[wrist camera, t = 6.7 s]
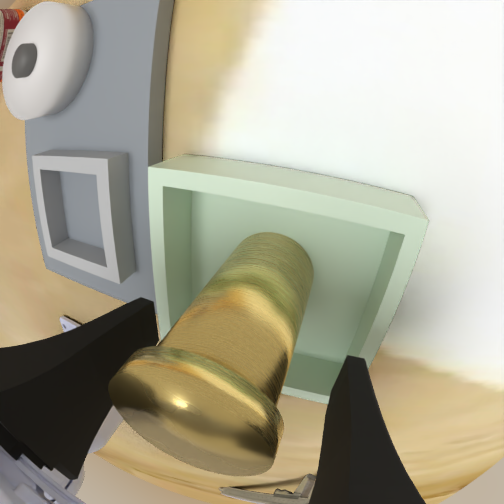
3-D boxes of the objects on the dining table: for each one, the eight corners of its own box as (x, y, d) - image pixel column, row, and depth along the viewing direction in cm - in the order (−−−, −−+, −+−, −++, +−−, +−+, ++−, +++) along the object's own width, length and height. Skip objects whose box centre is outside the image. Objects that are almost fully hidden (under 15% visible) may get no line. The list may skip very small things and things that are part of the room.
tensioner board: (167, 303, 18) (133, 341, 15) (56, 261, 21) (23, 284, 17) (177, -22, 10) (130, -46, 6) (44, 23, 12) (1, 23, 9)
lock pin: (311, 321, 15) (262, 488, 7) (222, 299, 16) (129, 436, 8) (331, 236, 13) (289, 421, 5) (226, 214, 14) (88, 345, 6)
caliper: (322, 468, 24) (309, 521, 18) (329, 471, 24) (317, 524, 18) (219, 486, 34) (203, 519, 29) (225, 489, 34) (210, 522, 29)
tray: (351, 367, 16) (346, 407, 14) (186, 323, 19) (163, 354, 16) (412, 196, 11) (429, 220, 9) (185, 153, 14) (147, 166, 11)
